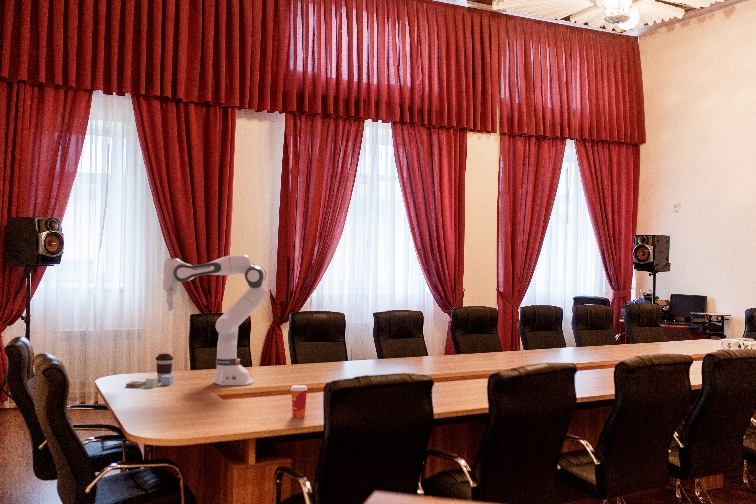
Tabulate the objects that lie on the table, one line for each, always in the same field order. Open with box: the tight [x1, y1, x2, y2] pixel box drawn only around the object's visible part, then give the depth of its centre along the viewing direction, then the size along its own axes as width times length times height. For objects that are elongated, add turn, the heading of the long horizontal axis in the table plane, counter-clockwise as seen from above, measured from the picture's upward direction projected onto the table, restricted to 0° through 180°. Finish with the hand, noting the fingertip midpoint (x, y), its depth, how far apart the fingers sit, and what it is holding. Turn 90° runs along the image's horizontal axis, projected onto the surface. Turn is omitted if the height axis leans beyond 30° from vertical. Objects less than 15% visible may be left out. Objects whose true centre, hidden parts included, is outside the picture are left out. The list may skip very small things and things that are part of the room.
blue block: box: [160, 374, 174, 387], centre depth 392 cm, size 5×5×5 cm
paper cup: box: [290, 384, 308, 419], centre depth 319 cm, size 8×8×14 cm
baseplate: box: [125, 380, 146, 389], centre depth 386 cm, size 8×8×2 cm
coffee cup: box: [155, 353, 174, 382], centre depth 406 cm, size 10×10×15 cm
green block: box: [145, 376, 159, 389], centre depth 385 cm, size 5×5×5 cm
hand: (170, 310), depth 399 cm, fingers open, 8 cm apart
